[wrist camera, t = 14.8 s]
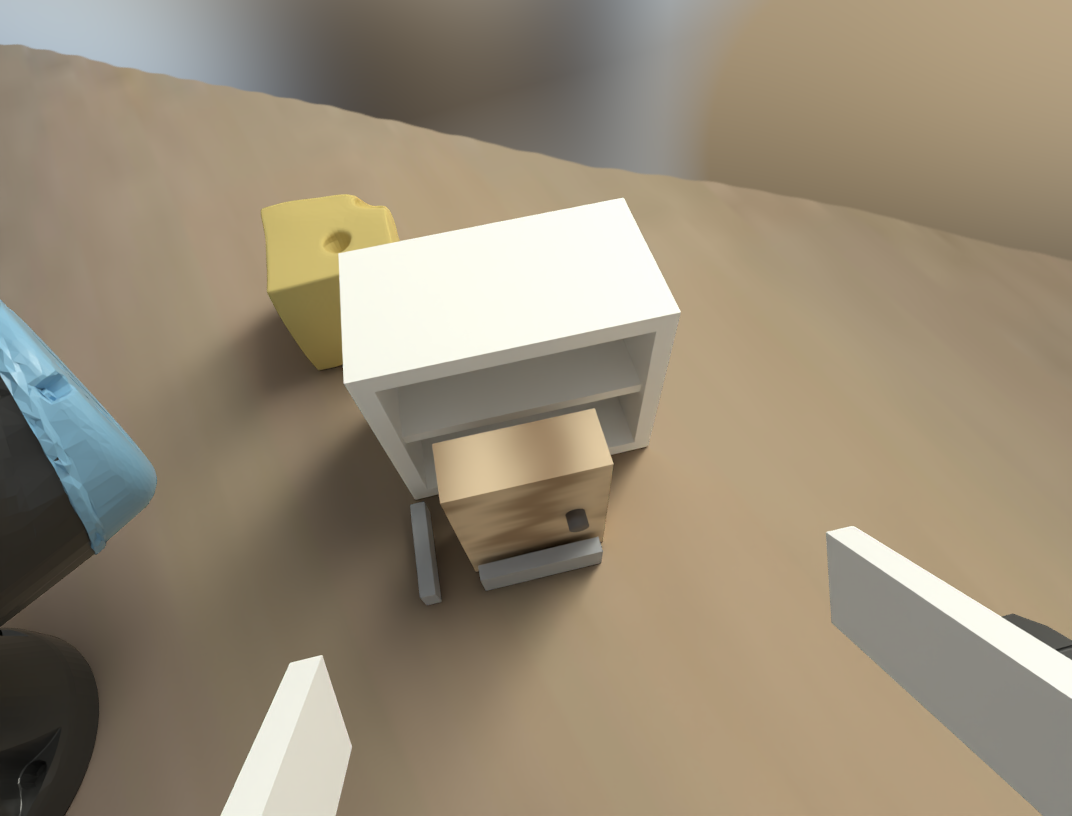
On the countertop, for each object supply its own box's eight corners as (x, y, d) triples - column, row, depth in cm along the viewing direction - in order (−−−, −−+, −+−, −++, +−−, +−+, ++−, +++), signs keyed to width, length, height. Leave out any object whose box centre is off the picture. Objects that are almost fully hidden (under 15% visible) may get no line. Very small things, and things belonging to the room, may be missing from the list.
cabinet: (426, 605, 36) (349, 525, 24) (402, 391, 46) (338, 253, 33) (685, 542, 38) (742, 434, 25) (609, 347, 47) (623, 197, 35)
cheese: (412, 267, 54) (383, 177, 46) (431, 349, 48) (402, 263, 40) (306, 293, 53) (256, 205, 45) (313, 379, 47) (257, 297, 39)
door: (477, 585, 37) (442, 521, 27) (467, 524, 39) (432, 443, 29) (606, 554, 38) (619, 480, 28) (589, 496, 40) (594, 408, 30)
